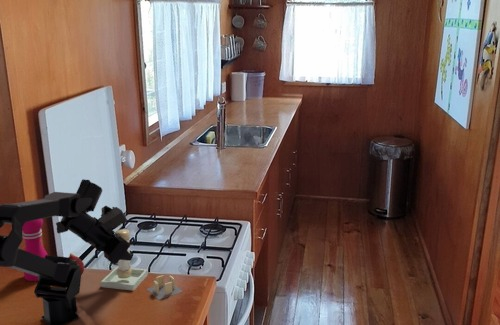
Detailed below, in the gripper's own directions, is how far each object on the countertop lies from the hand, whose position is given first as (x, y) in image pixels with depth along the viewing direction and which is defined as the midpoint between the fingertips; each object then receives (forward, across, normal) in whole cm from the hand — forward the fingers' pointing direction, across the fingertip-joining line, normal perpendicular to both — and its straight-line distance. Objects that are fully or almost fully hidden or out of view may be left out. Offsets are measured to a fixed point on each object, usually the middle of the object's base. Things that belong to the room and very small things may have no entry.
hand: (128, 256), depth 132 cm
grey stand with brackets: (+9, -11, +2) cm, 15 cm away
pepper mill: (-8, +20, +19) cm, 29 cm away
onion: (-2, +12, +14) cm, 18 cm away
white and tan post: (+3, 0, +5) cm, 5 cm away
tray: (+5, 0, +7) cm, 8 cm away
